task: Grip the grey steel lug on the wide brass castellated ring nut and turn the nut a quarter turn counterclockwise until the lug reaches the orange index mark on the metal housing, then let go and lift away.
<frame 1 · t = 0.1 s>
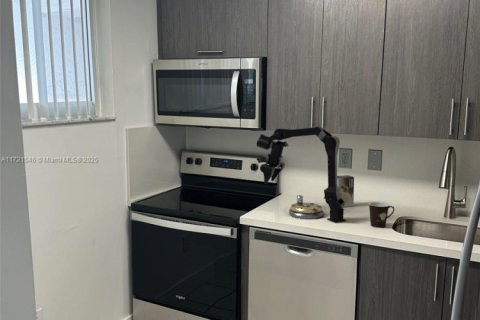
hand: (268, 182, 219), 15 cm above the worktop, tool pointing down, fingers open, 9 cm apart
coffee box: (343, 206, 235), on the worktop
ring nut: (306, 204, 217), point 5 cm above the worktop, hinge at 0.0°
coffee mug: (381, 226, 198), on the worktop
housing: (306, 214, 217), on the worktop
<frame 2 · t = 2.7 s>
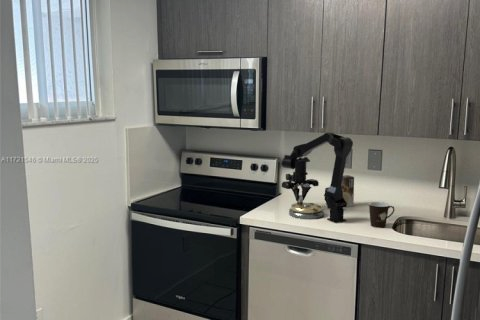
hand: (299, 200, 222), 6 cm above the worktop, tool pointing down, fingers closed on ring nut, 3 cm apart
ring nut: (306, 204, 217), point 5 cm above the worktop, hinge at 0.0°, touching gripper
everything else where it was.
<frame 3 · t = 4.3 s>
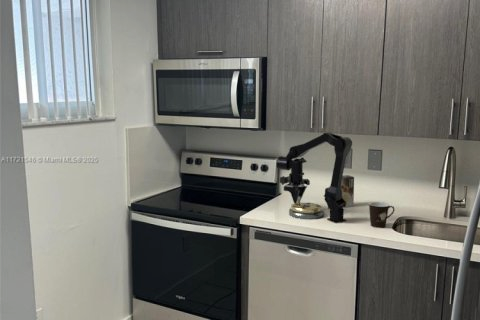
hand: (297, 201, 220), 6 cm above the worktop, tool pointing down, fingers open, 5 cm apart
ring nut: (306, 204, 217), point 5 cm above the worktop, hinge at 16.6°, touching gripper
everything else where it was.
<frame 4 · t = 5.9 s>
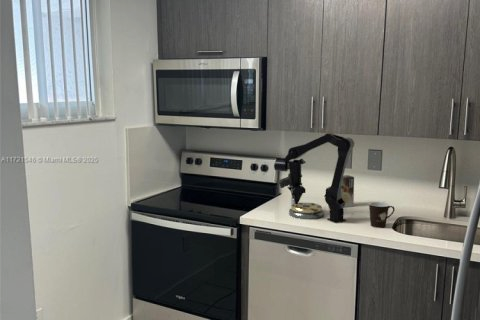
hand: (295, 203, 217), 6 cm above the worktop, tool pointing down, fingers open, 5 cm apart
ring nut: (306, 204, 217), point 5 cm above the worktop, hinge at 55.2°, touching gripper
everything else where it was.
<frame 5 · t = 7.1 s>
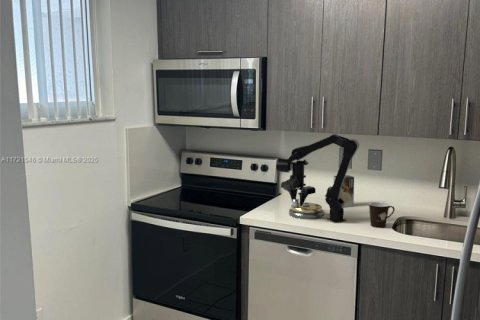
hand: (297, 204, 214), 6 cm above the worktop, tool pointing down, fingers open, 5 cm apart
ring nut: (306, 204, 217), point 5 cm above the worktop, hinge at 85.5°, touching gripper
everything else where it was.
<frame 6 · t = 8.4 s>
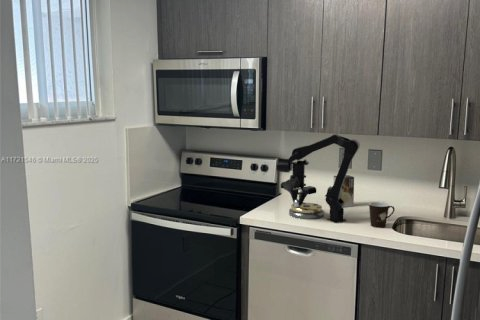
hand: (297, 204, 213), 6 cm above the worktop, tool pointing down, fingers closed on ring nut, 3 cm apart
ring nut: (306, 204, 217), point 5 cm above the worktop, hinge at 99.3°, touching gripper
everything else where it was.
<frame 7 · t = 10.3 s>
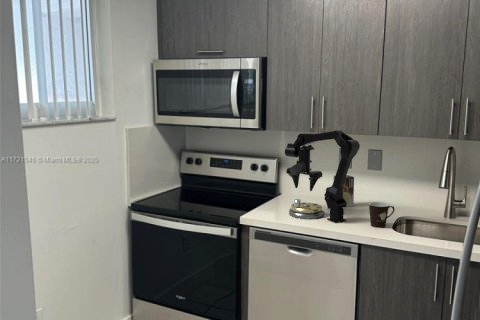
hand: (303, 189, 218), 12 cm above the worktop, tool pointing down, fingers open, 9 cm apart
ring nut: (306, 204, 217), point 5 cm above the worktop, hinge at 99.4°
everything else where it was.
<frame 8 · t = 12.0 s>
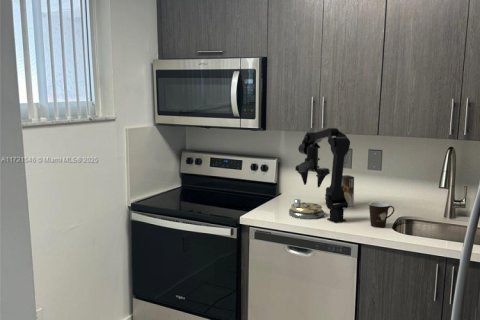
hand: (311, 186, 228), 12 cm above the worktop, tool pointing down, fingers open, 9 cm apart
nothing on the worktop moved.
at the end: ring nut at +99° (first picture: +0°); the gripper is holding nothing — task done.
